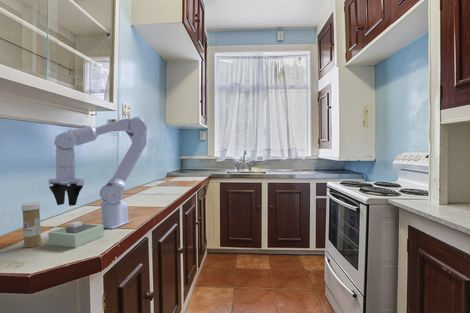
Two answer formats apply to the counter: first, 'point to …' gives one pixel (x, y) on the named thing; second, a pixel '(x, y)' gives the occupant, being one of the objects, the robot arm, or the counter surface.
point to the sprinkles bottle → (31, 224)
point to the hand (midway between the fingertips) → (66, 205)
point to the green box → (76, 236)
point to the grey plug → (75, 227)
